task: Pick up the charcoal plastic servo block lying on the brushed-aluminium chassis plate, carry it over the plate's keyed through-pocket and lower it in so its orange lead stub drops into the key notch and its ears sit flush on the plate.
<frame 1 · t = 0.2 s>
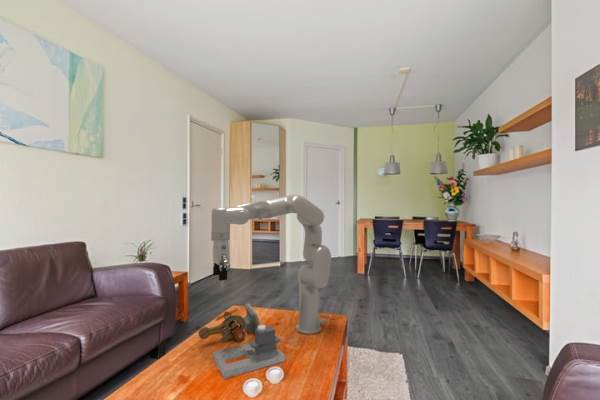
hand: (219, 277, 123), 31 cm above the table, fingers open, 9 cm apart
toy helicopter: (224, 341, 132), on the table
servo: (264, 349, 120), point 2 cm above the table, touching chassis
chassis: (248, 359, 117), on the table
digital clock: (253, 329, 145), on the table
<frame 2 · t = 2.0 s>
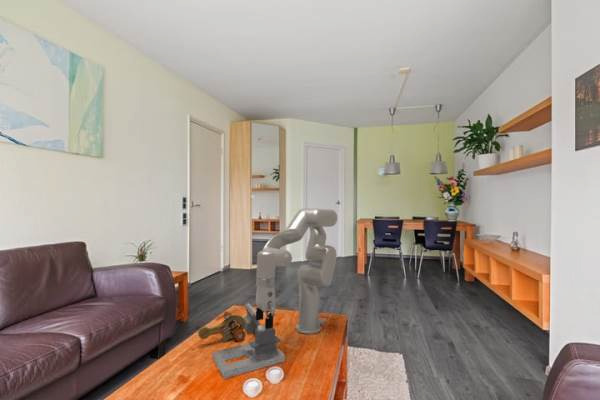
hand: (264, 323, 120), 13 cm above the table, fingers open, 9 cm apart
nothing on the table moved.
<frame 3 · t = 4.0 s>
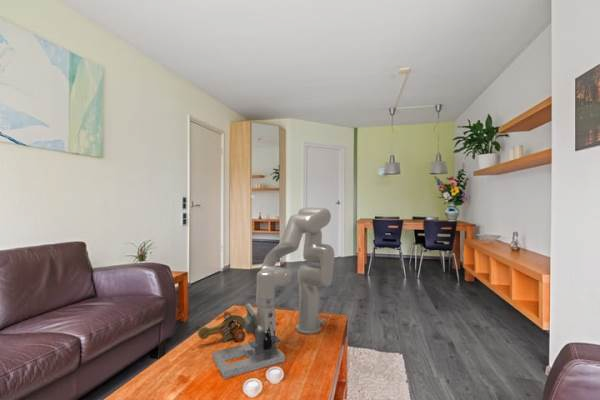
hand: (264, 345, 120), 4 cm above the table, fingers closed on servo, 4 cm apart
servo: (264, 349, 120), point 3 cm above the table, touching chassis, gripper
everything else where it was.
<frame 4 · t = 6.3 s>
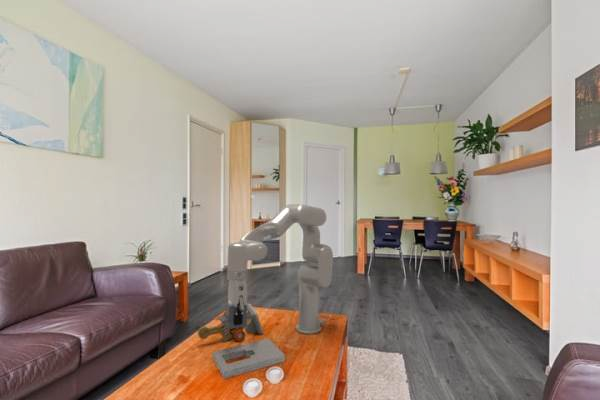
hand: (235, 321, 114), 16 cm above the table, fingers closed on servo, 4 cm apart
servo: (235, 325, 114), point 15 cm above the table, touching gripper
everything else where it was.
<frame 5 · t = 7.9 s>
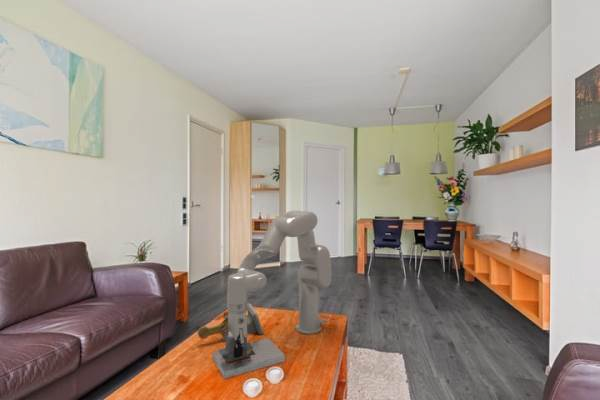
hand: (236, 353, 114), 4 cm above the table, fingers closed on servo, 4 cm apart
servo: (235, 356, 114), point 2 cm above the table, touching gripper
everything else where it was.
when the fingers open (3 cm above the table, at t = 9.0 s): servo drops 2 cm, resting in chassis.
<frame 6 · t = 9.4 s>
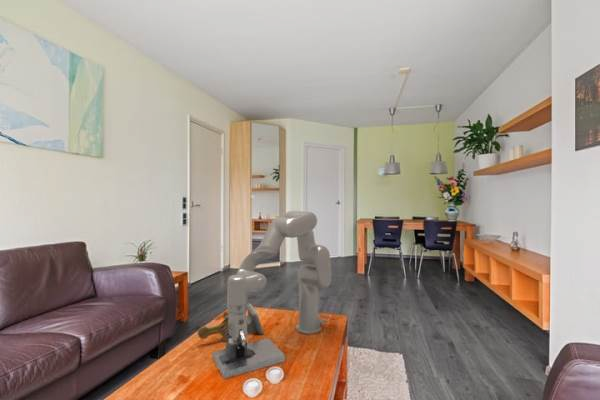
hand: (236, 352, 114), 4 cm above the table, fingers open, 8 cm apart
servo: (236, 363, 114), resting in chassis
everything else where it was.
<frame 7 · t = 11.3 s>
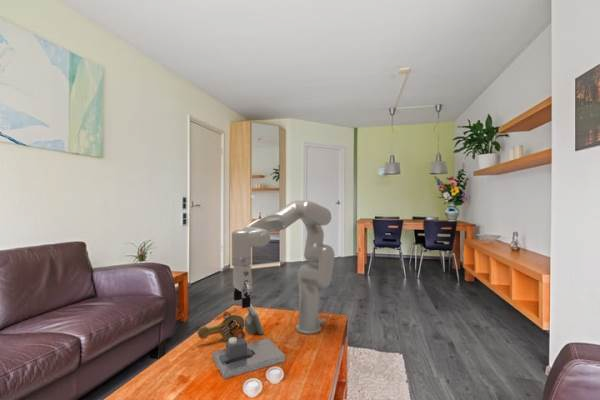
hand: (241, 303, 118), 22 cm above the table, fingers open, 9 cm apart
nothing on the table moved.
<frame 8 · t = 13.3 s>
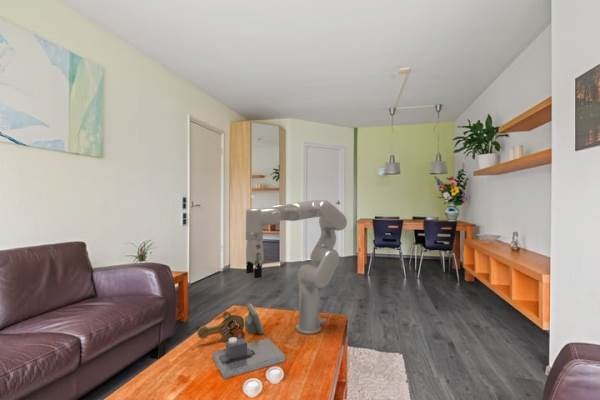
hand: (253, 275, 129), 30 cm above the table, fingers open, 9 cm apart
nothing on the table moved.
at the end: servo 0.0 cm from the target spot on the chassis, point 0.0 cm above the chassis's base; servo tilted 0°; the gripper is holding nothing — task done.
